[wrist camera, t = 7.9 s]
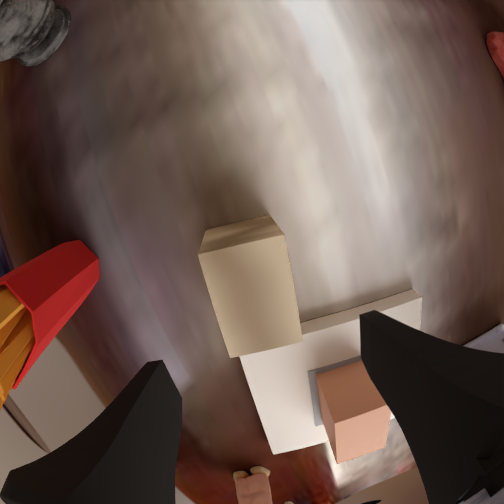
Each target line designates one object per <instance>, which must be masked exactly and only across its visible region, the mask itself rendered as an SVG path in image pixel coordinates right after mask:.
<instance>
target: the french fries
mask: <svg viewBox="0 0 504 504" xmlns="http://www.w3.org/2000/svg"><path fill="white" fill-rule="evenodd" d="M99 278H100V274H99V258H98V257H97V256H96V255H95V254H94V253H93V252H92V251H91V250H90V249H89V248H88V247H87V246H86V245H85V244H84V243H83V242H82V241H81V240H75V241H69V242H64V243H62V244H60V245H58V246H56V247H54V248H52V249H50V250H49V251H47V252H45V253H43V254H41V255H39V256H37V257H36V258H34V259H32V260H30V261H28V262H27V263H25V264H23V265H21V266H20V267H18V268H16V269H14V270H13V271H11V272H9V273H7V274H6V275H4V276H2V277H1V278H0V409H1V407H2V405H3V403H4V401H5V399H6V397H7V395H8V393H9V391H10V389H16V388H17V386H18V385H19V383H20V382H21V380H22V379H23V378H24V376H25V375H26V374H27V372H28V371H29V369H30V368H31V367H32V365H33V364H34V363H35V361H36V360H37V359H38V357H39V356H40V355H41V353H42V352H43V351H44V350H45V348H46V347H47V346H48V344H49V343H50V342H51V341H52V339H53V338H54V337H55V336H56V334H57V333H58V332H59V331H60V329H61V328H62V327H63V326H64V325H65V323H66V322H67V321H68V320H69V319H70V317H71V316H72V315H73V314H74V313H75V311H76V310H77V309H78V308H79V306H80V305H81V304H82V303H83V301H84V300H85V299H86V297H87V296H88V294H89V293H90V292H91V290H92V289H93V287H94V286H95V284H96V283H97V281H98V280H99Z"/></svg>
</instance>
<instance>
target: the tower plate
mask: <svg viewBox="0 0 504 504" xmlns="http://www.w3.org/2000/svg"><path fill="white" fill-rule="evenodd" d="M422 298H423V297H422V296H421V295H420V294H418V293H417V292H416V291H415V290H413V289H411V290H408V291H405V292H402V293H399V294H396V295H393V296H390V297H387V298H384V299H381V300H378V301H374V302H371V303H368V304H365V305H362V306H358V307H355V308H352V309H348V310H345V311H342V312H338V313H335V314H331V315H327V316H324V317H320V318H317V319H313V320H309V321H305V322H301V323H300V325H301V331H302V337H303V342H299V343H295V344H291V345H287V346H283V347H279V348H275V349H270V350H266V351H262V352H257V353H252V354H248V355H243V356H239V357H240V360H241V363H242V366H243V369H244V372H245V375H246V378H247V381H248V384H249V387H250V390H251V393H252V396H253V399H254V402H255V405H256V408H257V411H258V414H259V416H260V419H261V422H262V425H263V428H264V430H265V433H266V436H267V439H268V442H269V444H270V447H271V450H272V452H273V454H278V453H283V452H288V451H292V450H297V449H301V448H305V447H309V446H313V445H316V444H320V443H324V442H327V441H329V439H328V436H327V433H326V430H325V427H324V424H323V421H322V416H321V408H320V401H319V394H318V387H317V380H316V374H320V373H323V372H326V371H330V370H333V369H336V368H339V367H343V366H346V365H349V364H352V363H355V362H358V361H361V360H362V359H361V350H360V318H359V315H360V314H363V313H366V312H369V311H372V310H376V311H378V312H381V313H383V314H385V315H387V316H389V317H391V318H393V319H395V320H398V321H400V322H402V323H404V324H406V325H408V326H410V327H412V328H415V329H417V330H419V331H420V325H421V313H422ZM393 418H395V417H394V415H393V414H392V412H391V417H390V419H393Z"/></svg>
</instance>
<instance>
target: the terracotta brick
mask: <svg viewBox="0 0 504 504" xmlns="http://www.w3.org/2000/svg"><path fill="white" fill-rule="evenodd" d="M316 380H317V387H318V394H319V401H320V408H321V416H322V421H323V424H324V427H325V430H326V433H327V436H328V439H329V442H330V445H331V448H332V451H333V454H334V457H335V459H336V462H337V464H339V463H342V462H345V461H348V460H351V459H354V458H357V457H360V456H363V455H365V454H368V453H371V452H373V451H376V450H378V449H381V448H383V447H385V445H386V440H387V435H388V429H389V423H390V417H391V410H390V409H389V407H388V406H387V404H386V403H385V401H384V399H383V398H382V396H381V395H380V393H379V392H378V390H377V388H376V387H375V385H374V384H373V382H372V381H371V379H370V377H369V375H368V373H367V371H366V368H365V366H364V364H363V362H362V360H361V361H358V362H355V363H352V364H349V365H346V366H343V367H339V368H336V369H333V370H330V371H326V372H323V373H320V374H316Z"/></svg>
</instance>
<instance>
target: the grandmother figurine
mask: <svg viewBox="0 0 504 504" xmlns="http://www.w3.org/2000/svg"><path fill="white" fill-rule="evenodd" d="M250 471H251V473H252V474H253V475H252V476H249V475H248V473H247V472H245V471H236V472H234V473H233V478H234V480H235V483H236V493H237V498H238V502H239V504H272V498H271V490H270V485H269V481H268V476H269V474H270V470H268V469H266V468H264V467H262V466H255V467H252V468H251V469H250ZM284 504H293V502H291V501H287V502H285V503H284Z"/></svg>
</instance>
